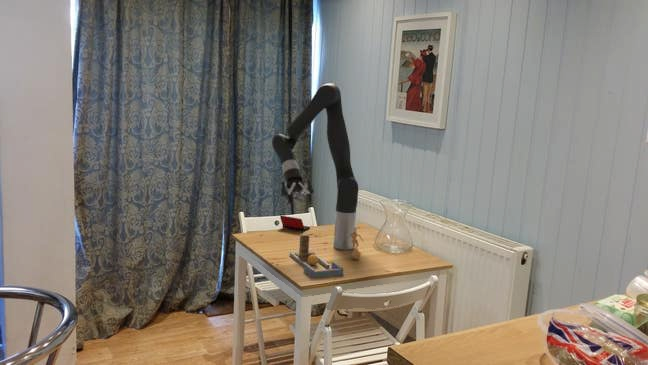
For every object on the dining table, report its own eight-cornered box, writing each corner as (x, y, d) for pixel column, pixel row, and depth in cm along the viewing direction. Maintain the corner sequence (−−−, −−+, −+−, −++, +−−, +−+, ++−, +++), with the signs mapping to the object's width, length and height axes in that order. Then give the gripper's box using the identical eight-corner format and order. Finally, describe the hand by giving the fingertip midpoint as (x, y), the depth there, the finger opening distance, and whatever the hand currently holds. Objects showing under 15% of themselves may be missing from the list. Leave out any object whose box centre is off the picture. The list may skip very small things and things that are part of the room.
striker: (307, 254, 247) (309, 233, 245) (314, 259, 240) (315, 237, 239) (294, 255, 245) (296, 233, 243) (301, 260, 238) (302, 238, 236)
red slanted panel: (310, 229, 293) (311, 215, 292) (300, 233, 283) (301, 219, 282) (289, 225, 298) (290, 211, 297) (278, 229, 288) (279, 215, 287)
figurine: (350, 261, 241) (352, 234, 239) (342, 257, 247) (344, 231, 244) (366, 259, 246) (368, 233, 244) (358, 255, 251) (360, 229, 249)
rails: (310, 254, 249) (310, 250, 249) (329, 268, 231) (329, 264, 231) (289, 255, 245) (289, 252, 245) (307, 270, 227) (307, 266, 227)
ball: (315, 262, 237) (316, 252, 237) (319, 266, 233) (320, 255, 233) (305, 263, 236) (306, 253, 235) (310, 267, 232) (310, 256, 231)
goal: (333, 268, 232) (334, 261, 231) (342, 275, 224) (343, 268, 223) (304, 271, 226) (304, 263, 226) (312, 278, 219) (312, 270, 218)
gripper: (279, 167, 248) (288, 199, 240) (309, 167, 254) (318, 197, 246) (274, 177, 253) (282, 208, 245) (303, 176, 260) (312, 207, 252)
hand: (300, 203), depth 246 cm, fingers open, 8 cm apart
